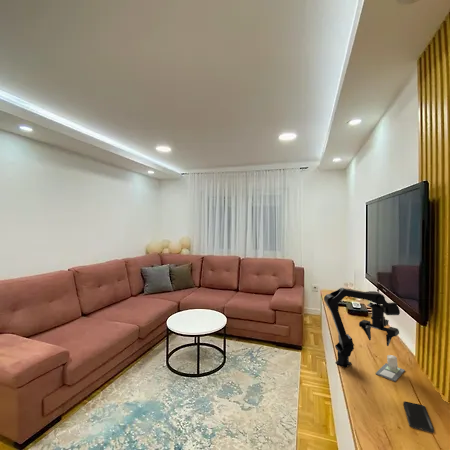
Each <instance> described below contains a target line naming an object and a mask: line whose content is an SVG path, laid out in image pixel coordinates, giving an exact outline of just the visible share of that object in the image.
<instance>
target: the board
mask: <svg viewBox="0 0 450 450" xmlns="http://www.w3.org/2000/svg"><path fill="white" fill-rule="evenodd" d="M405 370H406V369H403V368H401V367H398V370H397V371H393V370H390V369H388V362H385V363H384V364H383V365H382V366H381V367H380V368H379V369H378V370H377V371H376V372H375V375H377V376H379V377H382V378H385V379H387V380H389V381H392V382H393V383H396V381H398V380H399V378H400V377H401V376H402V375H403V374H404V373H405V372H406V371H405Z"/></svg>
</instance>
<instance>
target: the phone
mask: <svg viewBox="0 0 450 450" xmlns="http://www.w3.org/2000/svg"><path fill="white" fill-rule="evenodd" d="M402 403H403V408H404V411H405V412H404V413H405V415H406V419H407V422H408V426H409V427H410V428H411V429H416V430H419V431H422V432H423V431H424V432H428V433H431V434H433V433H435V429H434V426H433V423H432V421H431V418H430V415H429V413H428V410H427V407H426V406H425V405H423V404H419V403H414V402H412V401H411V402H410V401H406V400H404V401H403V402H402Z"/></svg>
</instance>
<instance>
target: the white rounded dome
mask: <svg viewBox="0 0 450 450" xmlns="http://www.w3.org/2000/svg"><path fill="white" fill-rule="evenodd" d="M386 360H387V362H386V363H387V364H388V369H390V370H393V371H397V370H398V368H399V366H398V357H397V356H396V355H392V354H387V356H386Z"/></svg>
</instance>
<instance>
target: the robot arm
mask: <svg viewBox="0 0 450 450" xmlns="http://www.w3.org/2000/svg"><path fill="white" fill-rule="evenodd" d="M346 297H348V298H353V299H354V298H355V299H360V300H365V301H369V302H370V303H367V307H369V308H370V309H371V316H370V319H371V321H370V320H366V319H362V320H361V321H359V323H358V326H359V327H360V328H361V329H362V330H363V331H364V333H365V334H366V336H367V339H368V340H369V341H371V340H372V334H371V330H372V329H376V330H380V331H381V332H385V333H386V336H385V337H386V338H385V340H386V346H387V347H389V346H390V343H391V341H392V339H393V338H394V337H397V336H398V335H400V330H399V328H398V327H397V328H396V327H394V326H393V327H392V326H389V320H388V319H387V318H386V317H385V315H386V316H400V312H401V310H400V308H399V306H398V303H397V302H388V301H386V297H385V296H384V294H382V293H380V292H378V291H372V290H371V291H362V290H356V289H351V288H345V287H340V288H338V289H337V290H334V291H331V292H330V293H328V294H327V293H326V295H324V297H323V300H324V302H325V305H326V306H327V307H328V310H329V311H330V314H331V317H332V319H333V322H334V325H335V328H336V331H337V334H338V342H337V343H336V344H335V346H334V347H335V350H336V351H337V361H335V364H336V365H338V366H341V367H342V368H348V367H350V366H351V365H352V362H351V361H350V357H351V354H352V352H353V351H354V349H355V348H354V347H355V344H354V343H353V338H352V337H351V336H350V335H349V333H347V332H346V329H345V326H344V323H343V320H342V318H341V315H340V312H339V310H340V309H339V308H340V307H339V304H340V303H341V302H342V301H343V300H344V298H346ZM384 314H385V315H384ZM387 326H389V327H387Z"/></svg>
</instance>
